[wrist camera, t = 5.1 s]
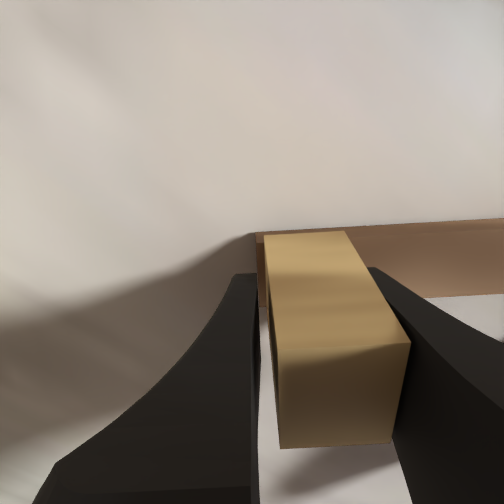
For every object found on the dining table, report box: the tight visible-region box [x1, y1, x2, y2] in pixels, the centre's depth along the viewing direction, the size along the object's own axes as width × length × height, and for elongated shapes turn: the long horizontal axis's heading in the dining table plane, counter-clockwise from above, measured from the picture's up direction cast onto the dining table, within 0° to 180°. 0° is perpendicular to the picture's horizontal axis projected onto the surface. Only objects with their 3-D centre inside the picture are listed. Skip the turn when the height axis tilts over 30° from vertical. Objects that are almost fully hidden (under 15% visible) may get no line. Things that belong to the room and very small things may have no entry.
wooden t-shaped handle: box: [255, 218, 504, 449], centre depth 12 cm, size 12×15×6 cm
